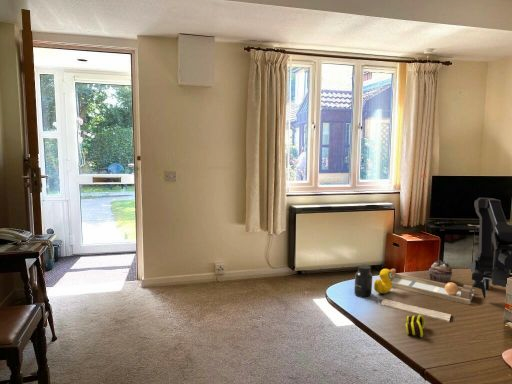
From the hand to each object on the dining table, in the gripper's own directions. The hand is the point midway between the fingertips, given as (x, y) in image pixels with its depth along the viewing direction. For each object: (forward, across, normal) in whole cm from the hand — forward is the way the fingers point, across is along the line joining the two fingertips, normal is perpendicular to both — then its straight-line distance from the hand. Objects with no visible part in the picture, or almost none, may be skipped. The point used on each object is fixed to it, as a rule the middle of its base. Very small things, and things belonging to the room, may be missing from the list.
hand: (498, 301), depth 141 cm
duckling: (+2, -40, -15) cm, 42 cm away
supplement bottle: (+2, -46, -23) cm, 51 cm away
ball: (+2, -16, 0) cm, 17 cm away
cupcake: (+2, -24, +14) cm, 27 cm away
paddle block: (+2, -11, 0) cm, 11 cm away
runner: (+2, -25, 0) cm, 25 cm away
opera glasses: (+2, -20, -42) cm, 47 cm away
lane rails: (+2, -25, 0) cm, 25 cm away
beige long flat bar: (+3, -24, -25) cm, 35 cm away
